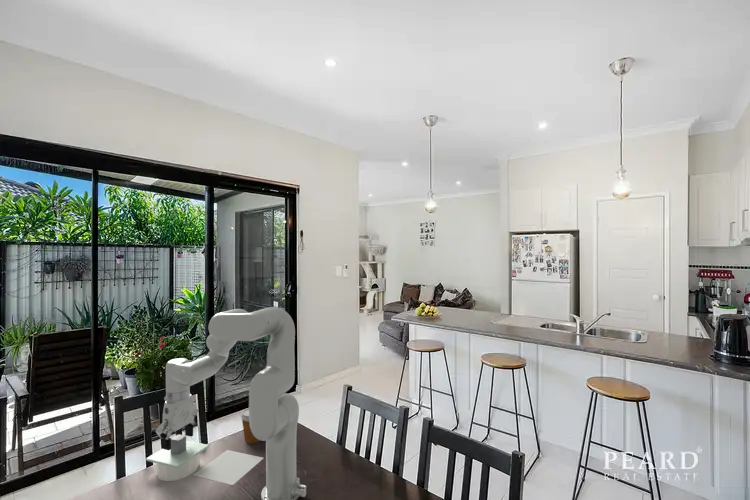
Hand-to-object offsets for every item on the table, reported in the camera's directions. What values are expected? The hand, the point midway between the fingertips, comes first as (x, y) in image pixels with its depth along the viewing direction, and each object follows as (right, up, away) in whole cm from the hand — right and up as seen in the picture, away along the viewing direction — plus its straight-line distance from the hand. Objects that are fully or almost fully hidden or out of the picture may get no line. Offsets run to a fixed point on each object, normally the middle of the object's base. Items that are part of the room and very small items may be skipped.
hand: (178, 442), depth 133 cm
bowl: (0, -10, 0) cm, 10 cm away
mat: (+18, -10, +2) cm, 20 cm away
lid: (0, -4, 0) cm, 4 cm away
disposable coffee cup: (+20, -10, +21) cm, 30 cm away
